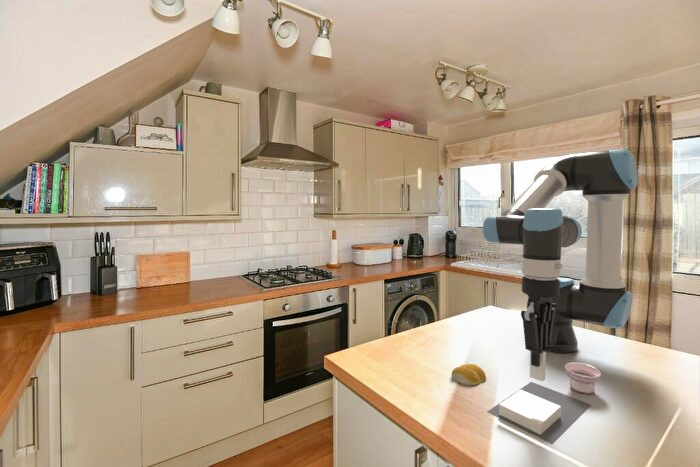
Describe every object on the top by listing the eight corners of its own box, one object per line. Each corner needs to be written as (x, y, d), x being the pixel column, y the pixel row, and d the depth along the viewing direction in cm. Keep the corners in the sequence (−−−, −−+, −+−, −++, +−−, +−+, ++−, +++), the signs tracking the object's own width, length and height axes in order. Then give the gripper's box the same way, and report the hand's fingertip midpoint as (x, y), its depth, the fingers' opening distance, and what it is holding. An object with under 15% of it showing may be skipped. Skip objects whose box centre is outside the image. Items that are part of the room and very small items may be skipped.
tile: (520, 400, 84) (499, 415, 78) (520, 389, 84) (499, 404, 77) (560, 417, 77) (540, 436, 71) (561, 406, 76) (541, 423, 70)
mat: (487, 414, 79) (487, 411, 79) (531, 383, 93) (531, 381, 93) (552, 446, 68) (552, 444, 68) (591, 407, 82) (591, 404, 82)
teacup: (613, 410, 80) (614, 385, 80) (554, 397, 86) (555, 373, 86) (605, 387, 91) (607, 364, 90) (553, 376, 97) (554, 355, 96)
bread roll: (491, 381, 95) (491, 367, 95) (471, 390, 90) (471, 376, 90) (466, 369, 102) (466, 356, 101) (446, 377, 97) (446, 364, 96)
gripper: (545, 283, 70) (541, 394, 72) (570, 275, 78) (566, 375, 80) (509, 278, 76) (507, 380, 78) (536, 271, 84) (533, 364, 86)
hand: (537, 378), depth 79 cm, fingers closed
